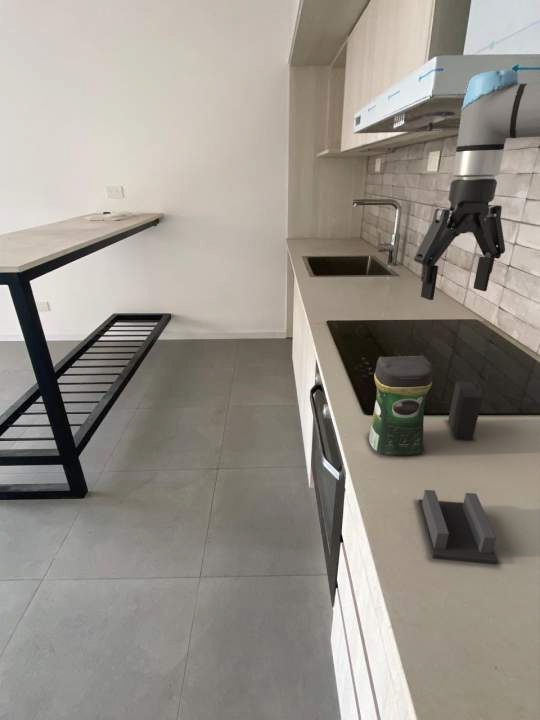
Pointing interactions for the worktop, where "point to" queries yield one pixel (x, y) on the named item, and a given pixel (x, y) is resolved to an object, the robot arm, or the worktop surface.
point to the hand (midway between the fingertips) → (454, 294)
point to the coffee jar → (400, 405)
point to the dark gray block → (464, 410)
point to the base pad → (457, 529)
